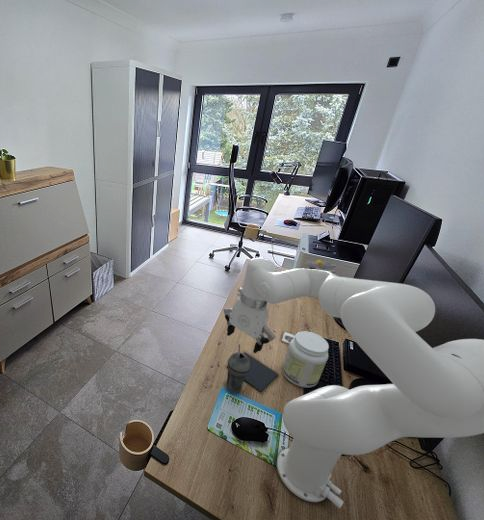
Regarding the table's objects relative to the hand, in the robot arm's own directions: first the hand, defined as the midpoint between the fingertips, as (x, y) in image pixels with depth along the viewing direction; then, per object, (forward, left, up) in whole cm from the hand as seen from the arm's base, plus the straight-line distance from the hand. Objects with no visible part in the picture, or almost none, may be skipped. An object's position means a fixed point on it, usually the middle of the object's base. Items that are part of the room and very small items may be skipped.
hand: (243, 342), depth 93 cm
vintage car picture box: (-5, -42, -21) cm, 47 cm away
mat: (0, -12, -21) cm, 24 cm away
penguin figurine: (+13, -95, -21) cm, 98 cm away
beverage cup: (0, 0, -21) cm, 21 cm away
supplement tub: (-12, -24, -21) cm, 34 cm away
